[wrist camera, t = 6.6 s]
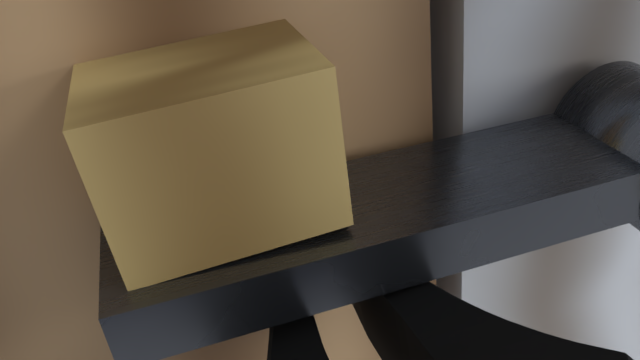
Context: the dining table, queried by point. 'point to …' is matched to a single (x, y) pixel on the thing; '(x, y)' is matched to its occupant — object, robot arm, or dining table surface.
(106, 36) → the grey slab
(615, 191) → the lock bar
